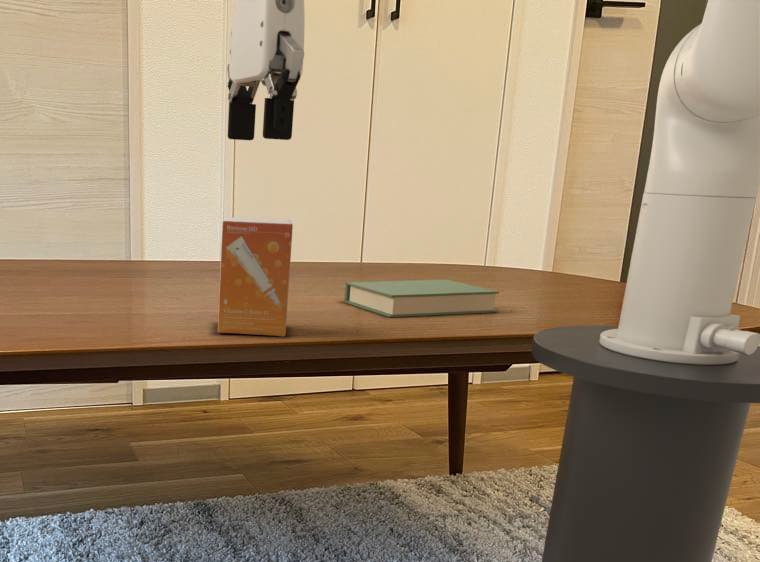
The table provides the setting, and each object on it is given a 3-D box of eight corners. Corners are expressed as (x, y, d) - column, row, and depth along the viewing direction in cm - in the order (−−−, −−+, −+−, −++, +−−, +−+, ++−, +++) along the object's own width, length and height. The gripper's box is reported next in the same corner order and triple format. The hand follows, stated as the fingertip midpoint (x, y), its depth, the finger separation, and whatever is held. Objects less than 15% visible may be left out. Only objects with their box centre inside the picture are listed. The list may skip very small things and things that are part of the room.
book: (496, 312, 111) (499, 291, 110) (389, 317, 104) (392, 295, 104) (443, 298, 122) (445, 279, 121) (344, 302, 115) (345, 282, 114)
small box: (217, 334, 90) (221, 219, 87) (219, 323, 97) (223, 216, 93) (286, 337, 90) (293, 222, 86) (284, 326, 96) (290, 218, 92)
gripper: (340, -44, 76) (325, 141, 81) (265, -13, 91) (256, 141, 96) (270, -56, 73) (259, 137, 78) (205, -21, 88) (199, 138, 93)
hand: (257, 139), depth 87 cm, fingers open, 9 cm apart
